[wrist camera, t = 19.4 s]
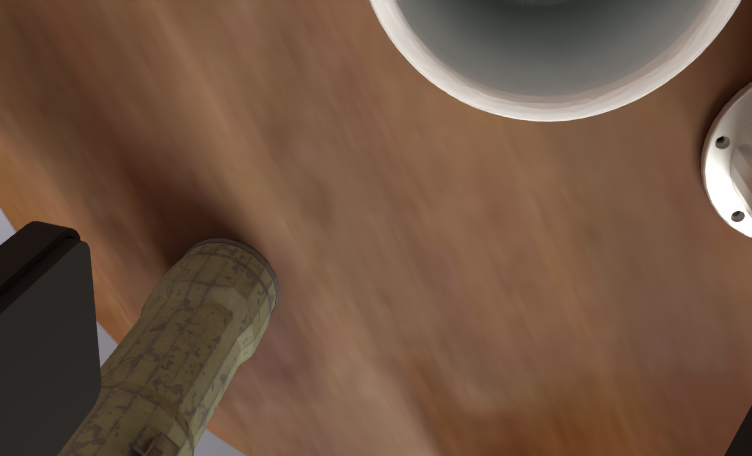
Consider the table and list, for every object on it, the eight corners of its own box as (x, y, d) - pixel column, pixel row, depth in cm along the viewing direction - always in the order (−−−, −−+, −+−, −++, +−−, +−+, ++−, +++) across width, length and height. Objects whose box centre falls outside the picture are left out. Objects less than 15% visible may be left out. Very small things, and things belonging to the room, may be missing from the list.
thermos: (147, 283, 60) (-231, 735, 30) (234, 207, 55) (-117, 661, 24) (222, 351, 62) (-58, 836, 32) (313, 284, 57) (81, 788, 27)
